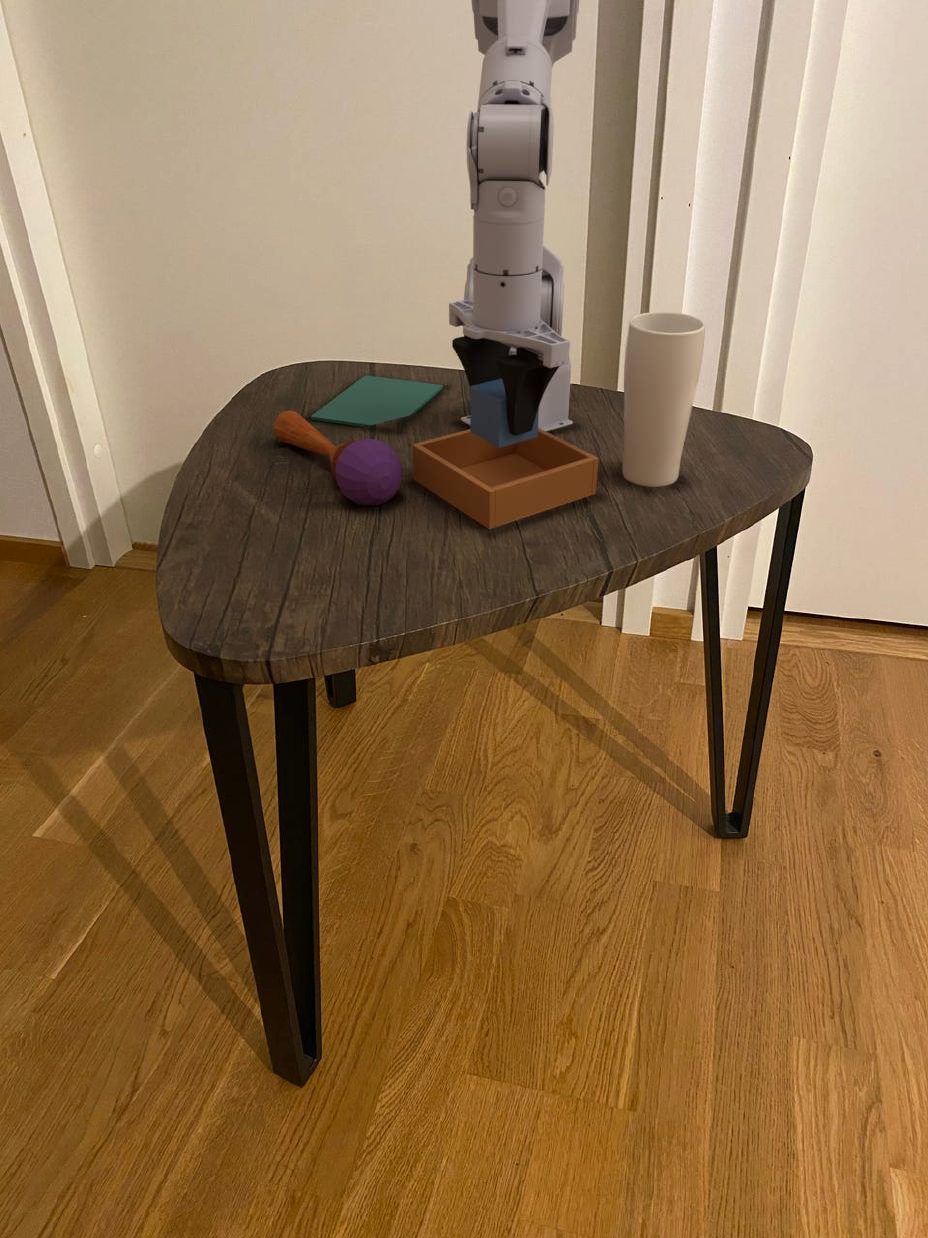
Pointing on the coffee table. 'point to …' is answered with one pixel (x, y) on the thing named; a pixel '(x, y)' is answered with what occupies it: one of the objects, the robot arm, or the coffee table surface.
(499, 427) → the block
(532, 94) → the robot arm
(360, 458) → the maraca
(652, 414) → the white vase
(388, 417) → the mat
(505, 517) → the bin
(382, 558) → the coffee table surface
